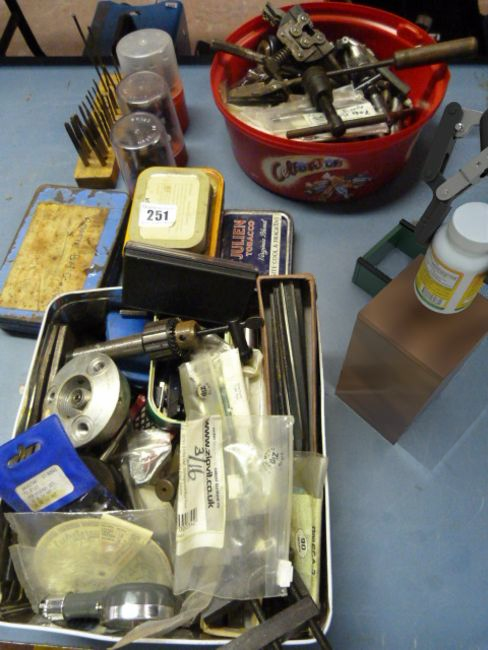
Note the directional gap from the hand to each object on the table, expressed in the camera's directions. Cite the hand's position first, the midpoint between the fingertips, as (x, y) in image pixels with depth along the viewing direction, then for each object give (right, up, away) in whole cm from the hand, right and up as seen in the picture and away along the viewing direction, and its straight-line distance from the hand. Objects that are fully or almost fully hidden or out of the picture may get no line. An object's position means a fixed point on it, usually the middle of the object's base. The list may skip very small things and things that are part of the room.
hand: (453, 263), depth 40 cm
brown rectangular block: (+3, -14, +28) cm, 31 cm away
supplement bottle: (+1, -2, +6) cm, 7 cm away
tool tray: (+7, +2, +37) cm, 37 cm away
